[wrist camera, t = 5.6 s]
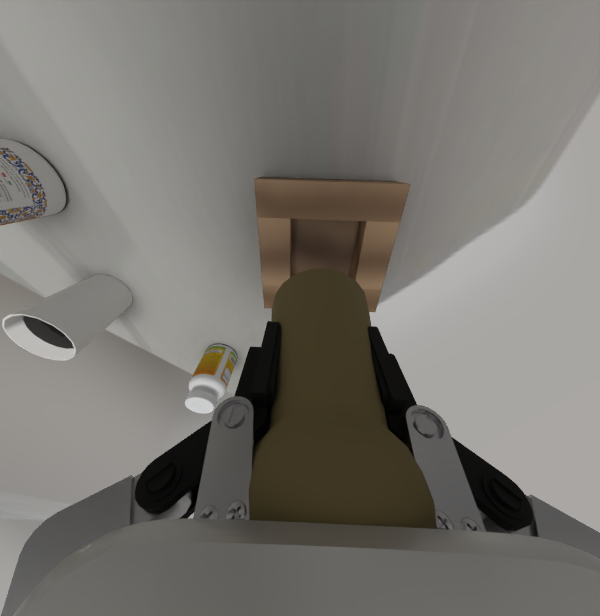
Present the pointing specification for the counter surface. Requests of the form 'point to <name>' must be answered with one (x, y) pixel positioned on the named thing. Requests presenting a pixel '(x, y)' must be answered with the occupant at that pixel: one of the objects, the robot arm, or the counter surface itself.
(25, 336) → the white cylindrical cup
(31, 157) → the bath foam
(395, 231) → the socket block
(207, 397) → the supplement bottle
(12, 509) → the counter surface
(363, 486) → the olive brown peg
